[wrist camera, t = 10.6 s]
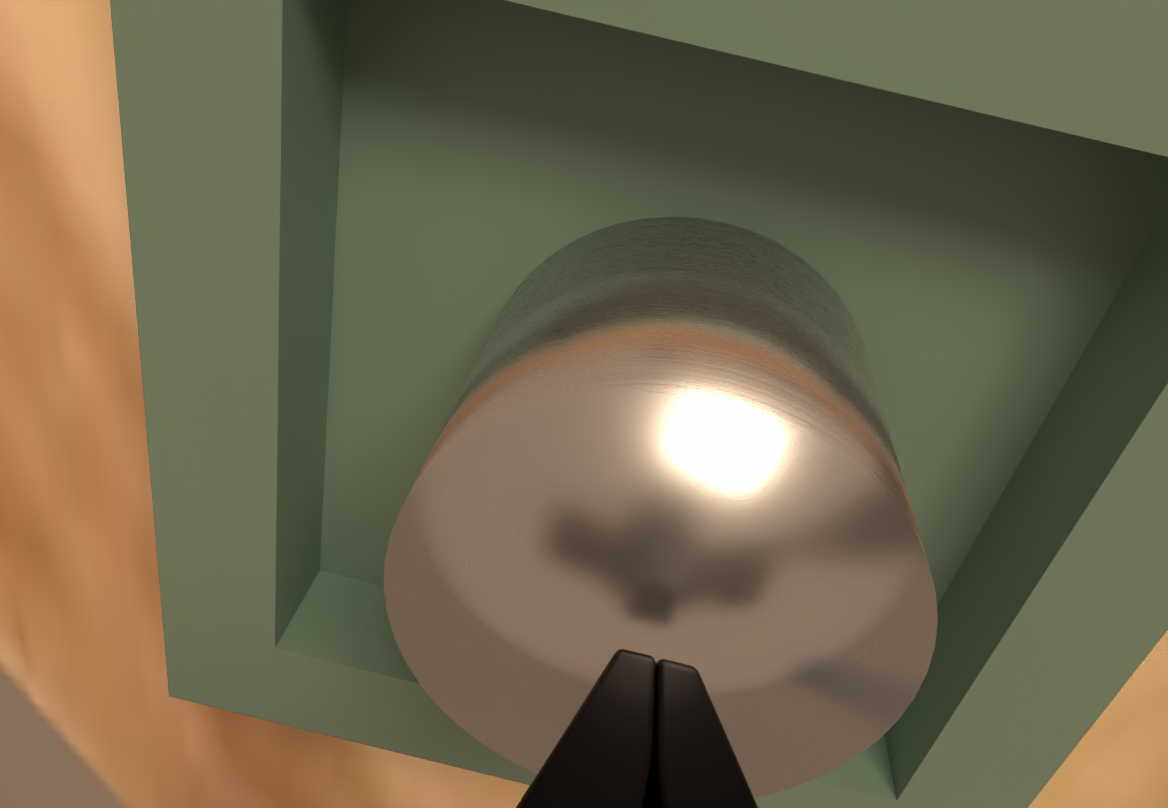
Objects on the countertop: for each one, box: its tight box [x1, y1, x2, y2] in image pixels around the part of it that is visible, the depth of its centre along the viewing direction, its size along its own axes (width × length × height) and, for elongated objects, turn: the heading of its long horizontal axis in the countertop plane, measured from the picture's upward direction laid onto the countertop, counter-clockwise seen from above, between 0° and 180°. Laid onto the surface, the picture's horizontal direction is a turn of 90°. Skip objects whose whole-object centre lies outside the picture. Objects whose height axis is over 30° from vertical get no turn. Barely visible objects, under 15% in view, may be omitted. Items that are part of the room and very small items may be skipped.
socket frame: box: [110, 0, 1168, 808], centre depth 13 cm, size 15×15×3 cm
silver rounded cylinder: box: [384, 217, 938, 798], centre depth 12 cm, size 6×6×5 cm
